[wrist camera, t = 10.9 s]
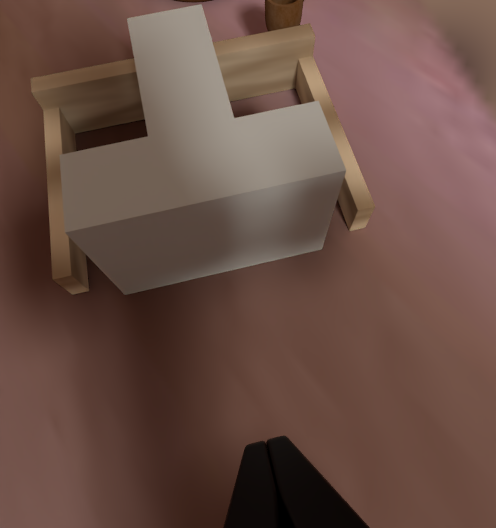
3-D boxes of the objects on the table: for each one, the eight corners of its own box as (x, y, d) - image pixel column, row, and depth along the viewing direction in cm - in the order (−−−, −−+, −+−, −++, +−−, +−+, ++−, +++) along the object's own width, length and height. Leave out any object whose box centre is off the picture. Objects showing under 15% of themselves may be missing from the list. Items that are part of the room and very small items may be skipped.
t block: (321, 249, 25) (346, 170, 18) (124, 295, 24) (64, 232, 17) (271, 101, 30) (274, -10, 22) (104, 136, 29) (50, 33, 22)
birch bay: (364, 227, 25) (382, 191, 22) (72, 294, 24) (38, 268, 21) (304, 73, 31) (309, 23, 27) (59, 123, 30) (31, 78, 26)
